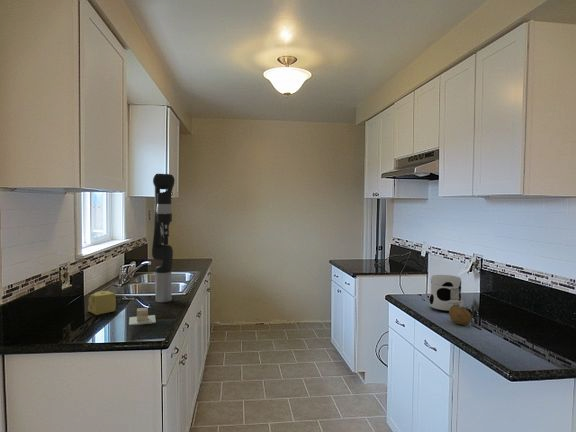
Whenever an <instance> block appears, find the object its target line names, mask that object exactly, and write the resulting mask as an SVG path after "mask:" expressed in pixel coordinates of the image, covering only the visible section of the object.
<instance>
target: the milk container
mask: <svg viewBox="0 0 576 432" xmlns="http://www.w3.org/2000/svg"><path fill="white" fill-rule="evenodd" d="M428 305H429V306H430V308H431V309H433V310H436V311H439V312H444V313H449V309H450V308H451V307H452V306H460V307H462V308H463V305H464V303H463V297H462V278H461V277H460V276H455V275H449V274H435V275H431V277H430V294H429V297H428Z"/></svg>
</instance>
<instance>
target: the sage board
mask: <svg viewBox="0 0 576 432" xmlns="http://www.w3.org/2000/svg"><path fill="white" fill-rule="evenodd" d="M128 320H129V322H128V325H129V326H138V325H146V324H147V325H149V324H156V323H157V321H156V315H155V314H152V315H148V320H147V321H137V316H131V317H130V316H129V319H128Z"/></svg>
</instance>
